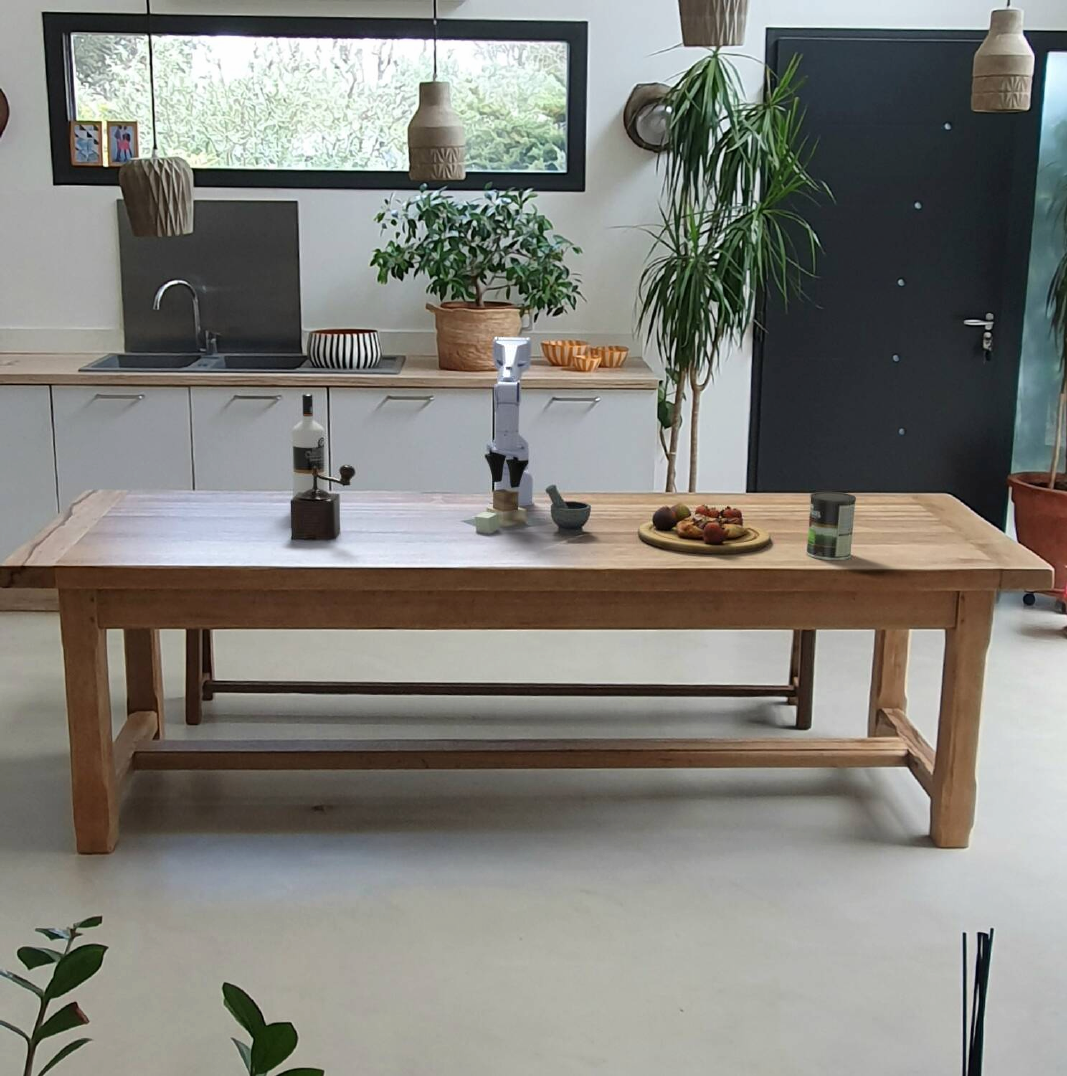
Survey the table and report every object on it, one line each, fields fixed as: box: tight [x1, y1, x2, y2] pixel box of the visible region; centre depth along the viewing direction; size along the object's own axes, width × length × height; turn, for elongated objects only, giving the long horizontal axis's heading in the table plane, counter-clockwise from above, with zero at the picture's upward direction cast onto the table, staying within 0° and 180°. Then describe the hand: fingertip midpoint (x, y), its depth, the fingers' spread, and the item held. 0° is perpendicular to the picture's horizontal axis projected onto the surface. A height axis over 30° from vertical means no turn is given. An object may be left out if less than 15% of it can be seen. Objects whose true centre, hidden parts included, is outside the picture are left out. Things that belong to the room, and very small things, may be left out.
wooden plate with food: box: [637, 501, 771, 555], centre depth 325 cm, size 32×32×8 cm
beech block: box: [486, 506, 527, 527], centre depth 337 cm, size 7×7×4 cm
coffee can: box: [805, 491, 857, 562], centre depth 311 cm, size 10×10×14 cm
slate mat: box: [461, 514, 552, 533], centre depth 337 cm, size 18×14×1 cm
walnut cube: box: [492, 488, 519, 511], centre depth 335 cm, size 4×4×4 cm
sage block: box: [474, 511, 499, 534], centre depth 327 cm, size 4×4×4 cm
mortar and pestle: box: [545, 484, 592, 536], centre depth 327 cm, size 11×9×12 cm
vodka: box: [291, 393, 327, 500], centre depth 343 cm, size 9×9×30 cm
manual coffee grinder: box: [290, 464, 356, 541], centre depth 319 cm, size 16×11×18 cm
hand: (506, 484), depth 335 cm, fingers open, 7 cm apart
